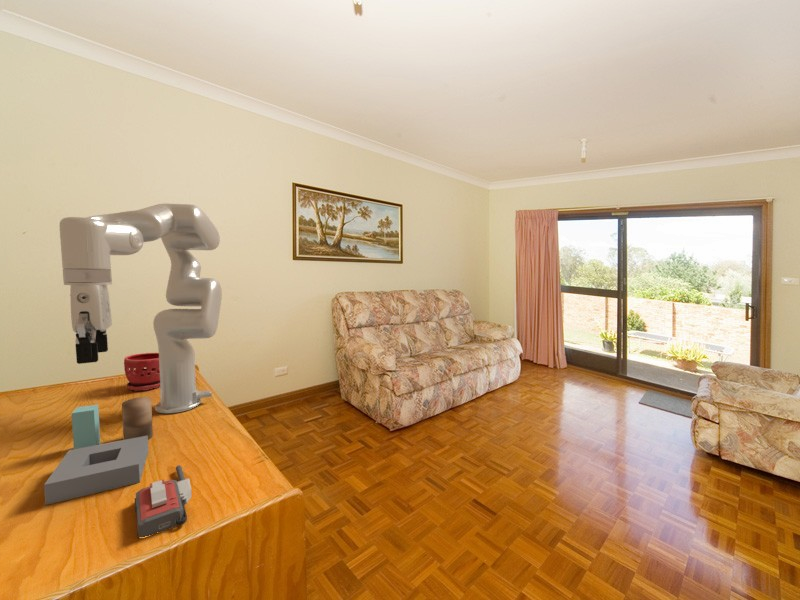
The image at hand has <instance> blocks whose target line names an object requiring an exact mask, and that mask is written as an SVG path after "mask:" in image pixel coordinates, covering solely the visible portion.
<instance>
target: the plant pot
mask: <svg viewBox="0 0 800 600" xmlns="http://www.w3.org/2000/svg"><path fill="white" fill-rule="evenodd" d="M123 360H124V362H123V365H124V374H125V377H126V379H127V381H128V382H127V383H126V384H125V385H126V388H127V389H129V391H130V390H131V391H132V390H134V391H135V392H136V391H137V392H140V391H142V390H143V391H149V389H150V390H153V388H154V389H157V388H160V369H159V352H145V353H144V352H143V353H136V354H131V355H127V356H125V357H124V359H123Z"/></svg>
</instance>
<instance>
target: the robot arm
mask: <svg viewBox="0 0 800 600" xmlns="http://www.w3.org/2000/svg"><path fill="white" fill-rule="evenodd" d="M59 238H60V253H61V254H60V255H61V264H62V265H61V267H62V280H63V286H70V294H69V296H70V297H69V298H70V318H71V319H70V320H71V327H72V328H71V329H72V331H73V332H74V333H75V345H74V346H75V356H76V359H75V360H76V363H77V364H79V365H81V364H90V363H91V364H92V363H97V362H98V361H99V353H106V352H108V350H109V346H108V343H109V342H108V334H107V330H108V329H109V328H110V327H111V326H112V325H113V320H112V313H111V311H112V310H111V302H110V295H109V294H110V293H109V290H108V289H109V288H108V285H112V284H113V279H112V267H111V265H112V263H111V256H130V255H134V254H136V253H139V252H140V251H141V249H142V248H143V246H144V243H147V242H148V243H149V242H154V241H157V240H159V239H160V240H161V241H162V244H163V245H164V248H165V250H166V253H167V254H168V257H169V260H170V271H169V276H168V280H167V286H166V291H165V292H166V293H165V299H166V301H167V303H168V304H170V305H172V306H174V307H175V306H176V307H200V308H169V309H163V310H161V311H159V312H158V313H156V315H155V316H154V318H153V331H154V333H155V337H156V341H157V348H158V353H159V369H160V386H159V388H160V389H159V391H160V402H157V403H156V404H155V406H154V410H155V411H156V412H157V413H159V414H175V413H176V414H177V413H182V412H187V411H190V410H193V409H195V408H197V407H199V406H200V405H201V404H202V402H203V401H202V398H211V397H212V396H213V395H212V394H213V393H212V390H208V389H205V390H198V387H196V385H197V383H196V361H195V360H196V358H195V349H194V347H193V345H192V344H191V343H190V341H189V340H192V339H193V340H195V339H196V340H197V339H198V340H199V339H210V338H212V337H214V336H215V335H216V332H217V330H218V325H219V319H220V311H221V306H222V305H221V304H222V297H223V293H222V287H221V284H220V283H219V281H218V280H217V279H214V278H210V277H201V270H202V265H201V264H200V262H199V260H198V259H197V258H196V257H195V256H194V255H193V254H192V252H190V251H213V250H216V249H217V248H218V247H219V245H220V241H221V235H220V234H219V231H218V229H217V227H216V226H215V224H214V223H213V221H211V218H210V217H209V216H208V215H207V213H205V211H203V210H202V209H201V208H200V207H199V206H197V205H194V204H186V203H185V204H184V203H183V204H182V203H158V204H153V205H151V206H147V207H143V208H141V209H140V208H139V209H136V210H135V209H134V210H126V211H121V212H114V213H106V214H105V213H104V214H98V215H92V216H87V217H80V216H68V217H63V218H61V220H60V221H59ZM188 339H189V340H188ZM201 401H202V402H201ZM200 403H201V404H200ZM199 404H200V405H199ZM198 405H199V406H198ZM196 406H197V407H196ZM194 407H195V408H194ZM192 408H193V409H192Z"/></svg>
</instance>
